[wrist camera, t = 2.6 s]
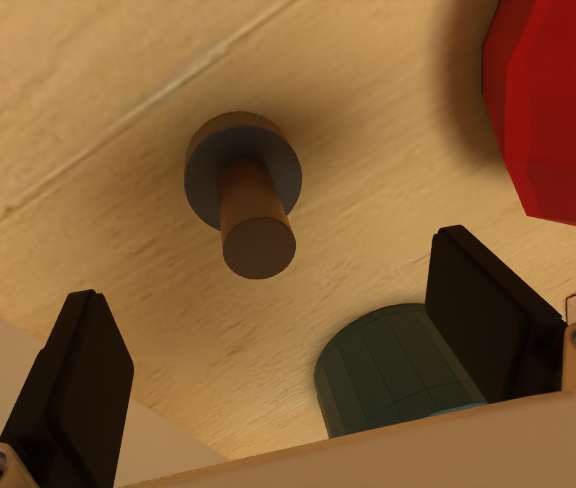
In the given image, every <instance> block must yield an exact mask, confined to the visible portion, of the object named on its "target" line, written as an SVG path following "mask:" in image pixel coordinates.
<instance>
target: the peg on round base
mask: <svg viewBox="0 0 576 488" xmlns="http://www.w3.org/2000/svg"><path fill="white" fill-rule="evenodd" d="M301 184H302V173H301V167H300V163H299V160H298V158H297V156H296V154H295V152H294V150H293V149H292V147H291V145H290V144H289V142H288V140H287V139H286V137H285V136H284V134H283V133H282V131H281V130H280V129H279V128H278V127H277V126H276V125H275V124H274V123H272V122H271V121H269V120H268V119H266V118H264V117H262V116H259V115H257V114H253V113H248V112H230V113H226V114H222V115H219V116H217V117H215V118H213V119H211V120H209V121H208V122H207V123H205V124H204V125H203V126H202V127H201V128H200V129H199V130H198V131H197V132H196V133H195V135H194V136H193V138H192V140H191V142H190V144H189V147H188V150H187V154H186V162H185V173H184V187H185V193H186V196H187V199H188V201H189V204H190V206H191V207H192V209H193V210H194V212H195V213H196V214H197V215H198V216H199V218H201V219H202V220H203V221H204V222H205V223H207V224H208V225H210V226H211V227H213V228H215V229H217V230H219V231H221V238H222V249H223V257H224V260H225V262H226V264H227V265H228V267H229V268H230V269H231V270H232V271H233V272H235V273H236V274H238V275H239V276H242V277H244V278H248V279H266V278H270V277H272V276H275V275H277V274H278V273H280V272H282V271H283V270H284V269H285V268H286V267H287V266H288V265H289V264H290V262H291V261H292V259H293V257H294V254H295V250H296V241H295V237H294V234H293V231H292V229H291V226H290V224H289V221H288V219H287V215H288V214H289V213H290V211H291V210H292V209H293V207H294V205H295V203H296V202H297V199H298V197H299V194H300V190H301Z"/></svg>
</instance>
